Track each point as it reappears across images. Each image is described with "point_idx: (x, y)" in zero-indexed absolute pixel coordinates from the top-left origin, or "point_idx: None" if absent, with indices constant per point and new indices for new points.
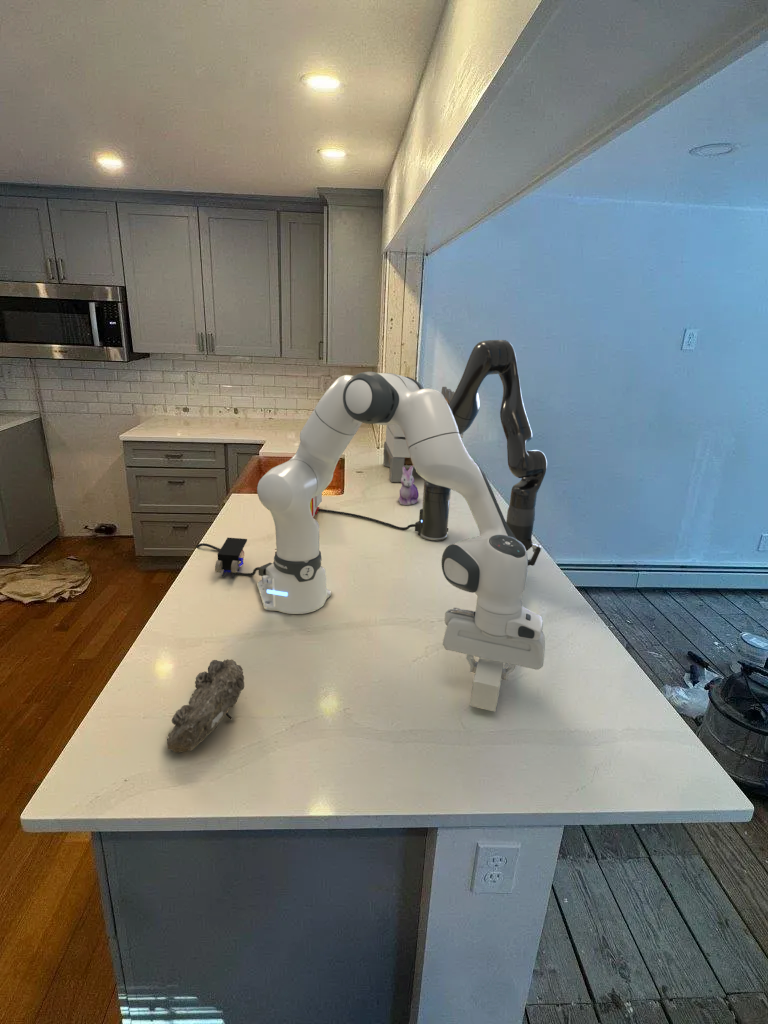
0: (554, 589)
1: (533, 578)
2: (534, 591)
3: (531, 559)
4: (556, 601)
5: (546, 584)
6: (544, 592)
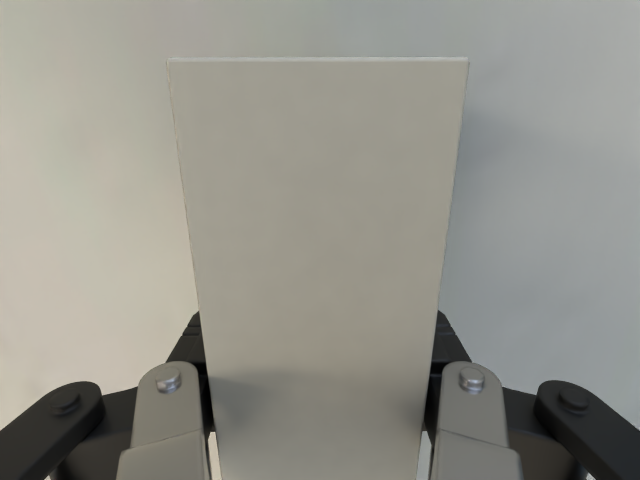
0: (622, 232)
1: (488, 97)
2: (474, 307)
3: (559, 448)
4: (592, 378)
5: (579, 171)
6: (539, 298)
